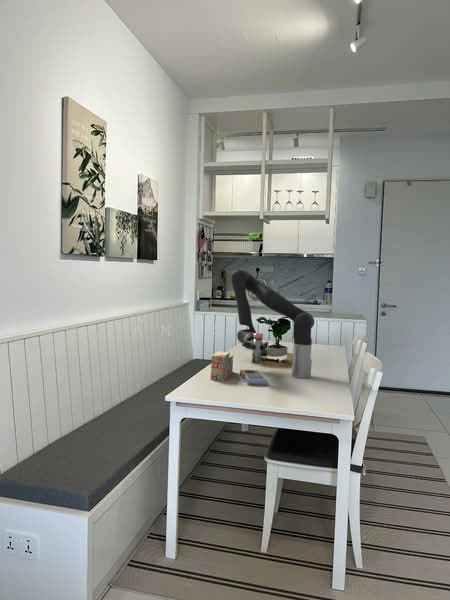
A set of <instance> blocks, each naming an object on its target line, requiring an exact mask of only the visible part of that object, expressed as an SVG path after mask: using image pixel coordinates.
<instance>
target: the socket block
mask: <svg viewBox="0 0 450 600" xmlns="http://www.w3.org/2000/svg"><path fill="white" fill-rule="evenodd" d="M245 374H246V375H262V373H260V371H259V370H258V369H239V377H240V378H241V380H243V381H245Z"/></svg>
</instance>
